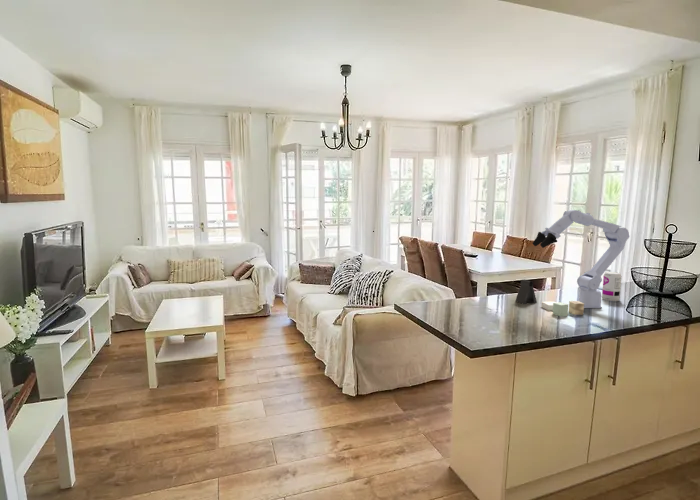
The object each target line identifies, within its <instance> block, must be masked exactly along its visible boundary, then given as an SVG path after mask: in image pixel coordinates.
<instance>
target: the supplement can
mask: <svg viewBox="0 0 700 500" xmlns="http://www.w3.org/2000/svg"><path fill="white" fill-rule="evenodd" d="M621 286H622V274H621V273H620V272H615V271H605V272H604V273H603V279H602V291H601V299H602V300H605V301H607V302H608V301H609V302H618V301H620V300H621Z"/></svg>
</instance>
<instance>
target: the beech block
mask: <svg viewBox="0 0 700 500" xmlns="http://www.w3.org/2000/svg"><path fill="white" fill-rule="evenodd" d="M584 310H585V308H584V303H582V302H579V300H574V301H573V300H571V301H569V302H568V313H570V314H572V315H581V316H583V315H584V312H585V311H584Z"/></svg>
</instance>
